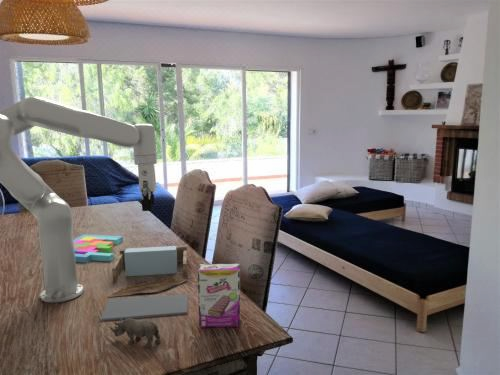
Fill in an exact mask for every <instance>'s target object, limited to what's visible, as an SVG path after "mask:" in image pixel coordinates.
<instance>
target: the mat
mask: <svg viewBox="0 0 500 375" xmlns="http://www.w3.org/2000/svg"><path fill="white" fill-rule="evenodd" d="M188 300H189V294H188V293H183V294H181V293H180V294H170V295H169V294H168V295H156V296H155V295H154V296H141V297H130V298H129V297H127V298H113V299H108V301H107V303H106V306H105V307H104V309H103V312H102V313H101V317H100V318H99V320H100V322H103V321H104V322H105V321H114V320H115V321H118V320H119V321H120V318H122V320H126V319H128V318H132V319H141V318H151V317H152V318H153V317H166V316H178V315H188V310H189V309H188V305H189V304H188V302H189V301H188Z"/></svg>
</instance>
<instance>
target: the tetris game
mask: <svg viewBox="0 0 500 375" xmlns="http://www.w3.org/2000/svg"><path fill="white" fill-rule="evenodd" d="M73 240H74V250H75V261H76V263H89V262H90V261H100V262H103V261H104V262H111V261H113V260H114V259H115V254H114V253H113V248H114V246H115V245H116V246H117V245H119V244H121V243H123V242H124V236H123V235H104V234H103V235H102V234H87V233H86V234H82V235H80V236H78V237H76V238H73Z"/></svg>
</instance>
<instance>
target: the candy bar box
mask: <svg viewBox="0 0 500 375" xmlns="http://www.w3.org/2000/svg"><path fill="white" fill-rule="evenodd" d="M198 266H199V267H198V270H197V280H198V281H197V285H198V286H197V288H198V290H197V291H198V326H199V328H229V327H234V328H235V327H239V328H240V326H241V265H240V264H239V263H213V264H212V263H209V264H208V263H202V264H199V265H198Z"/></svg>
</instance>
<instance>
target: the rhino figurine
mask: <svg viewBox="0 0 500 375" xmlns="http://www.w3.org/2000/svg"><path fill="white" fill-rule="evenodd" d="M109 328H110V331H112V332H113V334H114V336H115V337H120V336H122V335H123V334H125V332H126V334H127V336H128V338H129V340H128V341H127V344H128V345H132V344H134V343H135V341H138V340H140V339H141V338H143V337H145V338H146V339H147V342H146V343H145V345H144V347H146V348H149V347H152V346H153V341H154V338H153V337H155V341H154V343H155V344H156V345H157V344H161V343H162V340H161V335H160V334H159V326H158V324H156V322H155V321H152V320H138V319H136V318H128V319H122V318H120V319H119V322H114V328H113V327H112V326H109ZM134 336H135V340H134Z"/></svg>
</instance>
